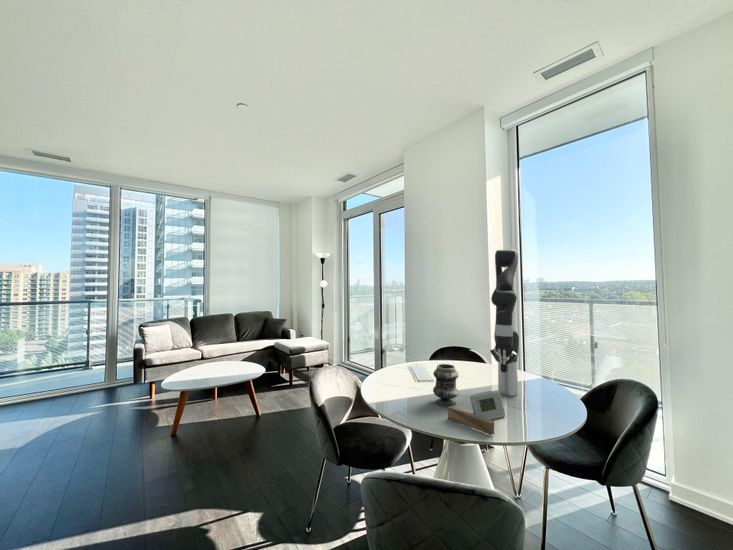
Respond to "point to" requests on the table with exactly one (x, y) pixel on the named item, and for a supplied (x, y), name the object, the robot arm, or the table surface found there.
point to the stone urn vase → (445, 385)
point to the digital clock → (488, 405)
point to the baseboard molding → (420, 373)
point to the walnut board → (471, 420)
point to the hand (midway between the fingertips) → (504, 372)
